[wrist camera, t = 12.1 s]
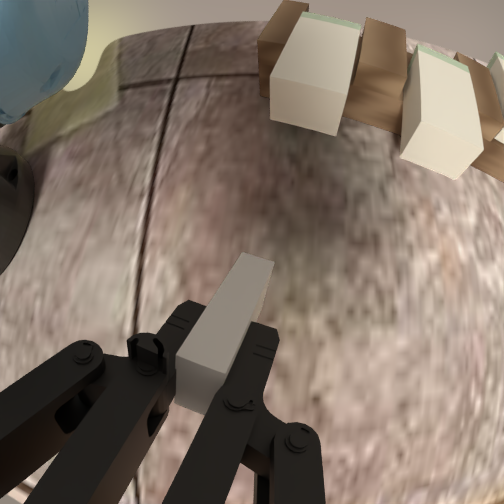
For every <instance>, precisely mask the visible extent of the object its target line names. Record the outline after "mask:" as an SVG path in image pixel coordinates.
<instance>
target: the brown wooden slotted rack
mask: <svg viewBox="0 0 504 504" xmlns="http://www.w3.org/2000/svg"><path fill="white" fill-rule="evenodd" d="M303 11H304V12H308V11H309V4H307V3H302V2H296V1H289V0H283V2H282V3H281V5H280V6H279V8H278V9H277V11H276V12H275V13H274V15H273V16H272V18H271V20H270V21H269V22H268V24H267V26H266V27H265V29H264V30H263V32H262V33H261V35H260V36H259V38H258V39H257V45H258V64H259V83H260V96H262V97H267V98H270V75H271V73H272V71H273V69H274V67H275V65H276V63H277V61H278V59H279V57H280V55H281V53H282V51H283V49H284V47H285V45H286V43H287V41H288V39H289V37H290V35H291V33H292V31H293V29H294V27H295V25H296V23H297V22H298V20H299V18H300V16H301V14H302V12H303ZM412 56H413V54H411V53H408V52H407V50H406V31H405V30H404V29H401V28H399V27H396V26H393V25H390V24H387V23H384V22H380V21H378V20H374V19H371V18H368V17H367V18H366V22H365V26H364V30H363V34H362V37H360V36H359V39H358V45H357V50H356V55H355V60H354V65H353V70H352V75H351V80H350V85H349V89H348V94H347V98H346V102H345V105H344V109H343V113H342V116H344V117H347V118H350V119H353V120H357V121H360V122H363V123H366V124H369V125H372V126H375V127H378V128H381V129H384V130H387V131H389V132H392V133H395V134H398V135H400V136H401V133H402V116H403V87H404V84H405V82H406V80H407V68H408V66H409V64H410V61H411V59H412ZM454 60H456V61H458V62H460V63H462V64H464V65H466V66H468V69H469V72H470V76H471V81H472V85H473V89H474V94H475V98H476V103H477V108H478V114H479V120H480V126H481V132H482V140H483V147H484V150H483V151H482V152H481V154H480V155H479V156H478V157H477V158H476V159H475V160H474V161H473V162H472V163H471V164H470V165H471V166H473V167H475V168H477V169H479V170H481V171H483V172H485V173H487V174H489V175H490V176H492V177H494V178H496V179H498V180H500V181H502V182H504V144H503V143H501V142H500V141H498V140H496V139H494V137H495V136H496V135H497V133H498V132H499V131H500V130H501V129H502V128H503V126H504V120H503V116H502V112H501V108H500V104H499V100H498V97H497V93H496V90H495V86H494V83H493V80H492V77H491V74H490V71H489V68H487V67H485V66H483V65H481V64H480V63H478V62H476V61H474V60H472V59H470V58H468V57H466V56H464V55H462V54H460V53H458V52H457V53H456V55H455V57H454Z"/></svg>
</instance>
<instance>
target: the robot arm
mask: <svg viewBox="0 0 504 504" xmlns="http://www.w3.org/2000/svg"><path fill="white" fill-rule="evenodd" d="M87 34H88V0H0V128H1V127H3V126H5V125H6V124H12V123H14V122H16V121H18V120H19V119H20V118H21V117H23V116H24V115H25V114H26V112H27V111H28V110H29V109H30V108H32V107H34V106H35V105H37V104H38V103H40V102H42V101H43V100H45V99H47V98H49V97H50V96H52V95H54V94H56V93H57V92H59V91H60V90H61V89H62V88H64V87H65V86H66V85H67V84H68V83H69V81H70V80H71V79H72V78H73V76H74V75H75V73H76V71H77V69H78V68H79V65H80V63H81V60H82V58H83V54H84V51H85V47H86V41H87ZM33 198H34V177H33V173H32V169H31V167H30V165H29V164H28V162H27V161H26V160H25V159H23V158H22V157H21V156H20V155H19V154H18V153H17V152H16V151H14V150H13V149H11V148H9V147H5V146H2V145H0V274H1V273H2V272H3V271H4V269H5V268H6V267H7V265H8V264H9V262H10V261H11V259H12V258H13V256H14V254H15V252H16V250H17V248H18V246H19V244H20V242H21V240H22V238H23V235H24V233H25V230H26V227H27V224H28V221H29V217H30V214H31V209H32V204H33ZM274 263H275V262H274V261H270V260H267V259H264V258H261V257H258V256H254V255H251V254H248V253H245V252H242V253H241V255H240V256H239V258H238V259H237V261H236V262H235V264H234V265H233V267H232V269H231V270H230V272H229V273H228V275H227V276H226V278H225V279H224V281H223V282H222V284H221V285H220V287H219V289H218V290H217V292H216V293H215V295H214V296H213V298H212V299H211V301H210V302H209V304H208V305H207V306H204V305H201V304H199V303H196V302H193V301H190V300H187V301H186V302H184V303H182V304H180V305H178V306H177V308H176V309H175V310H174V311H173V313H172V314H171V316H170V317H169V318H168V319H167V321H166V323H164V325H163V326H162V327H161V329H160V330H159V331H158V333H157V334H152V333H139V334H136V335H133V336H131V337H130V338H129V339H128V340H127V347H128V355H129V357H120V356H114V355H109V354H104V353H103V351H102V349H101V348H100V346H99V345H98V344H96V343H95V342H93V341H89V340H79V341H76V342H74V343H72V344H70V345H69V346H67V347H66V348H64V349H63V350H61V351H60V352H58V353H57V354H55V355H54V356H53V357H51V358H50V359H48V360H47V361H45V362H44V363H42V364H41V365H39V366H38V367H36V368H35V369H33V370H32V371H31V372H29V373H28V374H26V375H25V376H23V377H22V378H20V379H19V380H18V381H16V382H15V383H13V384H12V385H10V386H9V387H7V388H6V389H5V390H3V391H2V392H0V499H1V498H2V497H3V496H4V495H6V494H7V493H8V492H10V491H11V490H12V489H13V488H15V487H16V486H17V485H19V484H20V483H21V482H22V481H24V480H25V479H26V478H27V477H29V476H30V475H31V474H32V473H34V472H35V471H36V470H37V469H39V468H40V467H41V466H42V465H43V464H45V463H46V462H47V461H48V460H50V459H51V458H52V457H53V456H55V455H56V454H57V453H58V452H59V451H60V452H59V453H58V455H57V456H56V457H55V459H54V460H53V462H52V463H51V464H50V466H49V467H48V469H47V470H46V472H45V473H44V475H43V476H42V477H41V479H40V480H39V482H38V483H37V485H36V486H35V488H34V489H33V491H32V492H31V493H30V495H29V496H28V498H27V499H26V501H25V502H24V504H118V503H119V501H120V499H121V498H122V496H123V494H124V492H125V491H126V489H127V487H128V485H129V484H130V482H131V480H132V478H133V476H134V475H135V473H136V471H137V469H138V468H139V466H140V464H141V462H142V460H143V459H144V457H145V455H146V453H147V452H148V450H149V448H150V446H151V444H152V443H153V441H154V439H155V437H156V436H157V434H158V432H159V430H160V428H161V427H162V425H163V423H164V421H165V420H166V418H167V416H168V412H169V405H170V403H171V402H172V400H173V398H174V396H175V402H174V403H176V404H178V405H180V406H183V407H185V408H188V409H190V410H192V411H195V412H198V413H200V414H203V415H205V416H204V418H203V421H202V423H201V425H200V427H199V429H198V431H197V433H196V435H195V437H194V439H193V441H192V443H191V446H190V448H189V450H188V452H187V454H186V456H185V458H184V460H183V462H182V464H181V466H180V468H179V470H178V472H177V474H176V476H175V478H174V480H173V482H172V484H171V486H170V488H169V490H168V492H167V494H166V496H165V498H164V500H163V502H162V504H225V501H226V498H227V496H228V493H229V491H230V488H231V485H232V483H233V480H234V477H235V475H236V472H237V469H238V467H239V464H240V463H242V464H243V465H245V466H246V467H248V468H249V469H251V470H252V471H254V472H255V473H254V500H253V504H326V502H325V489H324V477H323V466H322V455H321V445H320V440H319V437H318V434H317V433H316V432H315V431H314V430H313V429H312V428H311V427H309V426H307V425H306V424H302V423H298V422H294V423H287V424H286V423H284V422H282V421H281V420H279V419H278V418H276V417H275V416H273V415H272V414H271V413H270V412H269V411H268V410H267V408H266V407H265V404H264V402H263V392H264V389H265V386H266V382H267V379H268V376H269V373H270V370H271V367H272V364H273V360H274V357H275V354H276V351H277V347H278V344H279V341H280V340H279V335H278V331H277V329H275V328H272V327H268V326H265V325H262V324H259V323H256V322H257V319H258V317H259V314H260V312H261V309H262V306H263V303H264V299H265V296H266V292H267V288H268V285H269V281H270V278H271V274H272V270H273V267H274Z"/></svg>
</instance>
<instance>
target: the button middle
mask: <svg viewBox="0 0 504 504" xmlns="http://www.w3.org/2000/svg"><path fill="white" fill-rule="evenodd" d="M483 150H484V147H483V140H482V132H481V126H480V120H479V114H478V108H477V103H476V98H475V94H474V89H473V85H472V81H471V76H470V72H469V69H468V66H466V65H464V64H462V63H460V62H458V61H456V60H454V59H452V58H450V57H447V56H445V55H443V54H441V53H439V52H436V51H434V50H432V49H429V48H427V47H424V46H422V45H420V44H417V46H416V48H415V51H414V54H413V56H412V59H411V61H410V64H409V66H408V68H407V80H406V82H405V84H404V87H403V116H402V133H401V146H400V157H399V158H402V159H405V160H407V161H410V162H412V163H415V164H418V165H420V166H423V167H425V168H428V169H430V170H432V171H435V172H437V173H440V174H442V175H444V176H447V177H449V178H451V179H453V180H456V179H457V178H458V177H459V176H460V175H461V174H462V173H463V172H464V171H465V170H466V169H467V168H468V167H469V166H470V164H471V163H472V162H473V161H474V160H475V159H476V158H477V157H478V156H479V155H480V154H481V152H482V151H483Z"/></svg>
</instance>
